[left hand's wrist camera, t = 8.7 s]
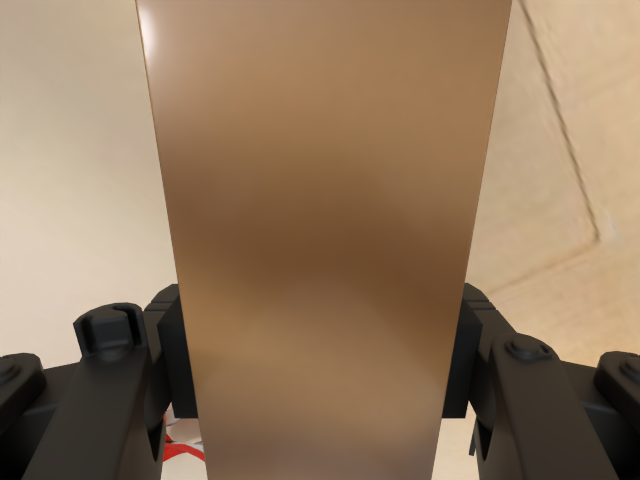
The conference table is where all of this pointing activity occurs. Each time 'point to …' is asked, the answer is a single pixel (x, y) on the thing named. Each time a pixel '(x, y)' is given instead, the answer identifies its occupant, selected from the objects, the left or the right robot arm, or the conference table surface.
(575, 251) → the conference table surface
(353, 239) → the beam
